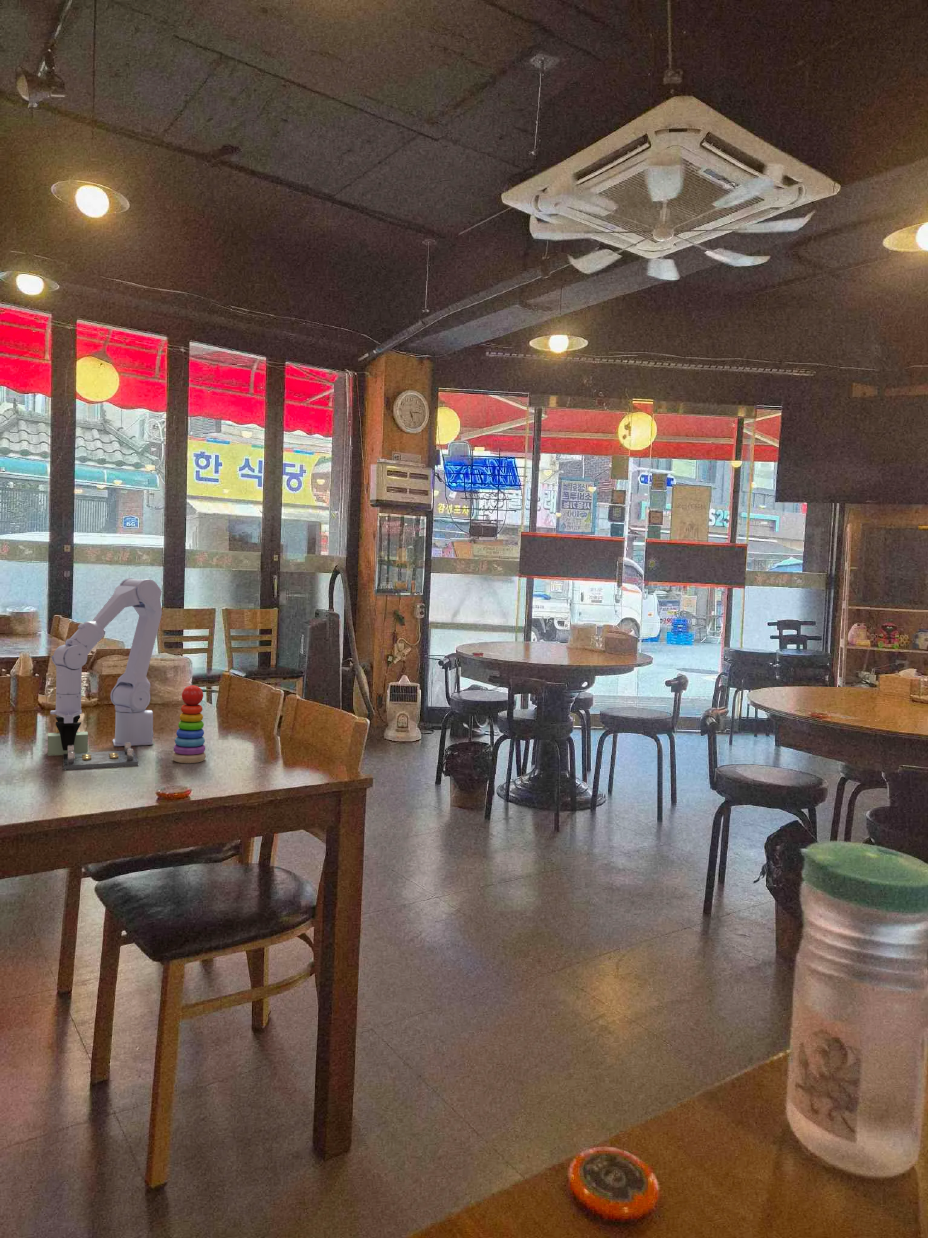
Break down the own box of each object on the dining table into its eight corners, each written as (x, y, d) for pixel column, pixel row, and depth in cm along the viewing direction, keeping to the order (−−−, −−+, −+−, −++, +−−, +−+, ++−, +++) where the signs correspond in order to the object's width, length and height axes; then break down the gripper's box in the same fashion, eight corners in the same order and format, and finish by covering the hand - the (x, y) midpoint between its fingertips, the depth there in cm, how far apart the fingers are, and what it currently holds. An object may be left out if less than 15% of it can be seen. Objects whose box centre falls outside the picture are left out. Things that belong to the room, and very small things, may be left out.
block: (87, 751, 210) (87, 731, 210) (87, 754, 207) (87, 734, 207) (47, 752, 207) (47, 733, 206) (47, 756, 203) (47, 736, 203)
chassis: (133, 754, 208) (133, 740, 208) (138, 765, 197) (138, 751, 197) (63, 757, 201) (63, 743, 201) (63, 770, 190) (63, 755, 190)
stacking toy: (174, 765, 199) (176, 688, 198) (169, 758, 206) (171, 683, 205) (208, 763, 203) (210, 687, 202) (202, 756, 210) (204, 682, 209)
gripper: (51, 689, 211) (50, 742, 211) (50, 697, 198) (49, 753, 198) (81, 688, 214) (80, 740, 214) (82, 697, 201) (81, 752, 201)
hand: (67, 747), depth 207 cm, fingers open, 7 cm apart
